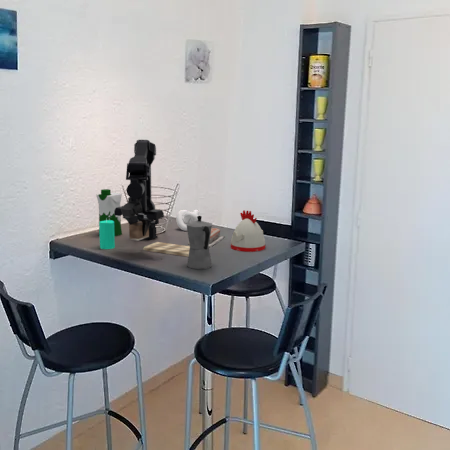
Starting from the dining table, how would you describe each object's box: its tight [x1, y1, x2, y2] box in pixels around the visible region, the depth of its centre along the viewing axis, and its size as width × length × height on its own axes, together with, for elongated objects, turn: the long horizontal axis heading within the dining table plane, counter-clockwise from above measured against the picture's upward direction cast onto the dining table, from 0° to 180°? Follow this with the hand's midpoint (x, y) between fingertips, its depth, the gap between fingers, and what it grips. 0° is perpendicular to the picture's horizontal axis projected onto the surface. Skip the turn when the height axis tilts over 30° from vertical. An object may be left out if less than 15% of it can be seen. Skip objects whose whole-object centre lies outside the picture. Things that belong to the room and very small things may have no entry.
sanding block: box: [128, 222, 149, 242], centre depth 209 cm, size 4×7×6 cm, turn 154°
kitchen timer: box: [230, 210, 266, 253], centre depth 222 cm, size 14×14×15 cm
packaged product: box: [187, 227, 225, 248], centre depth 232 cm, size 18×5×10 cm
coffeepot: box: [186, 215, 213, 270], centre depth 195 cm, size 15×9×18 cm, turn 22°
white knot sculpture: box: [175, 209, 200, 232], centre depth 254 cm, size 11×12×9 cm
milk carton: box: [96, 188, 123, 237], centre depth 240 cm, size 9×9×20 cm
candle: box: [98, 218, 116, 250], centre depth 219 cm, size 6×6×12 cm
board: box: [143, 241, 190, 257], centre depth 217 cm, size 20×10×1 cm, turn 64°
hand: (139, 235), depth 210 cm, fingers closed on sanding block, 4 cm apart
